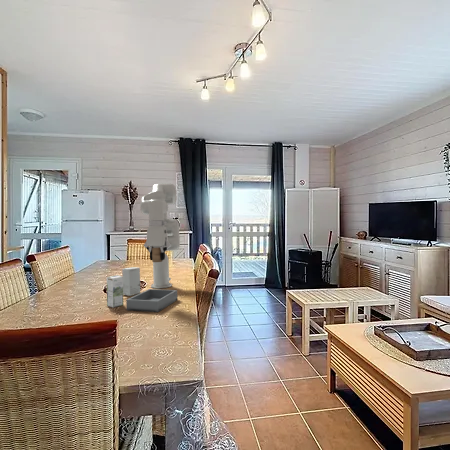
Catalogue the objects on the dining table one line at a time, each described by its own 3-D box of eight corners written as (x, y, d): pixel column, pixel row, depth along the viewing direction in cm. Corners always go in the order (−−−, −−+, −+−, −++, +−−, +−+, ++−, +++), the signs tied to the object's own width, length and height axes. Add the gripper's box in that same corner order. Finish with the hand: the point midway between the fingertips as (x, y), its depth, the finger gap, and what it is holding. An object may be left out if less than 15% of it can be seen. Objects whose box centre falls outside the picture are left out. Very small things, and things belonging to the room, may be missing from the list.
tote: (149, 298, 170) (149, 289, 170) (177, 299, 166) (177, 290, 166) (126, 310, 149) (126, 299, 149) (157, 312, 145) (157, 301, 145)
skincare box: (130, 296, 176) (129, 269, 176) (122, 295, 179) (121, 268, 179) (141, 292, 183) (140, 267, 183) (133, 291, 186) (132, 266, 186)
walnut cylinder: (155, 260, 165) (154, 247, 165) (164, 260, 164) (163, 247, 164) (150, 262, 160) (150, 248, 160) (159, 262, 159) (159, 248, 159)
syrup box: (117, 303, 162) (116, 274, 161) (124, 305, 158) (123, 276, 158) (106, 306, 157) (106, 276, 157) (113, 308, 154) (112, 277, 153)
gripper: (175, 223, 163) (175, 259, 164) (145, 224, 168) (146, 258, 168) (168, 224, 156) (169, 261, 156) (137, 224, 161) (138, 260, 161)
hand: (157, 259), depth 162 cm, fingers closed on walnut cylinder, 4 cm apart
